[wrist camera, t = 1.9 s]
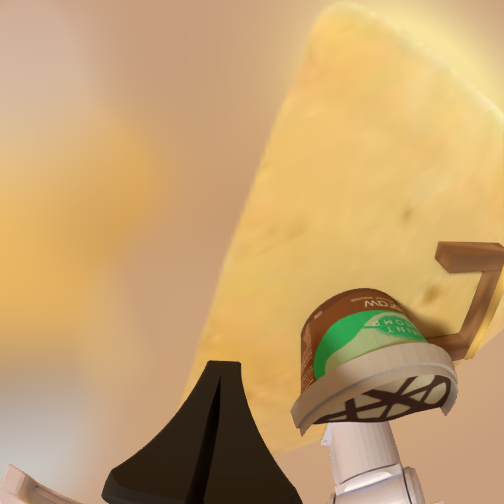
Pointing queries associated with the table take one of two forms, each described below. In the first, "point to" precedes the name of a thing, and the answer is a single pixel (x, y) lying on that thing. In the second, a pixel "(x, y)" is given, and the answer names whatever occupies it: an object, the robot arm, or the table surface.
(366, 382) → the food container
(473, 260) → the dock bay
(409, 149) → the table surface
